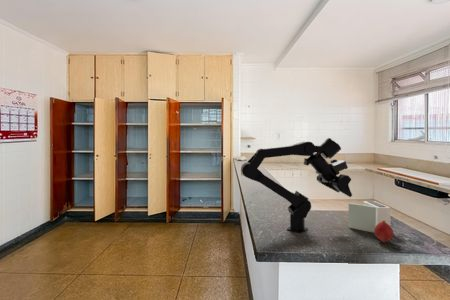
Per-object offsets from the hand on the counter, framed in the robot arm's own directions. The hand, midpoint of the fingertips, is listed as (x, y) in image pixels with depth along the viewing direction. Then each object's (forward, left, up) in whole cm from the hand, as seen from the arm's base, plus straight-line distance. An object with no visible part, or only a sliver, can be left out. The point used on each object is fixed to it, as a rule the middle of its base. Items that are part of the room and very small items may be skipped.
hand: (344, 193), depth 111 cm
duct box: (+7, -10, -14) cm, 19 cm away
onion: (-7, -16, -14) cm, 23 cm away
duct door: (+1, -6, -14) cm, 15 cm away
